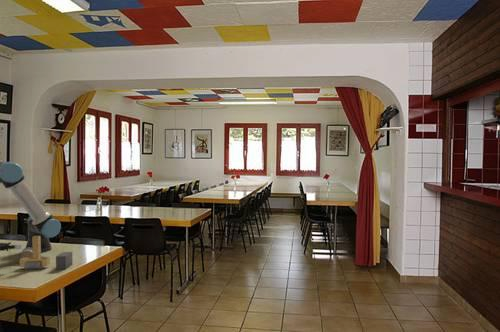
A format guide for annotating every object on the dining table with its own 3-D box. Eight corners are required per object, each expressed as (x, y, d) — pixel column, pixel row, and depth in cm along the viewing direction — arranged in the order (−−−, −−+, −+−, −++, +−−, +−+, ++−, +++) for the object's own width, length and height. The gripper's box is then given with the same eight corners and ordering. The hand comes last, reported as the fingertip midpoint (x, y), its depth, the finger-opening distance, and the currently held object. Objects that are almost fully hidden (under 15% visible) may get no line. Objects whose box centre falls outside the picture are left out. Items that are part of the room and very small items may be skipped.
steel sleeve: (30, 266, 216) (30, 259, 216) (45, 266, 216) (45, 258, 216) (24, 270, 209) (24, 262, 209) (39, 269, 209) (39, 262, 209)
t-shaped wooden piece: (23, 265, 214) (22, 236, 214) (49, 264, 215) (49, 235, 215) (19, 267, 210) (19, 237, 210) (46, 266, 211) (46, 236, 211)
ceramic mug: (19, 263, 222) (19, 250, 222) (21, 260, 229) (21, 247, 229) (40, 261, 226) (40, 248, 226) (41, 258, 234) (41, 246, 234)
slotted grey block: (63, 264, 219) (63, 252, 219) (72, 264, 219) (72, 251, 219) (56, 269, 209) (55, 256, 209) (65, 269, 209) (65, 256, 209)
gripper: (-17, 251, 216) (27, 250, 218) (-32, 257, 203) (15, 256, 205) (-17, 238, 216) (27, 237, 218) (-32, 243, 203) (15, 242, 205)
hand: (21, 246), depth 212 cm, fingers closed
